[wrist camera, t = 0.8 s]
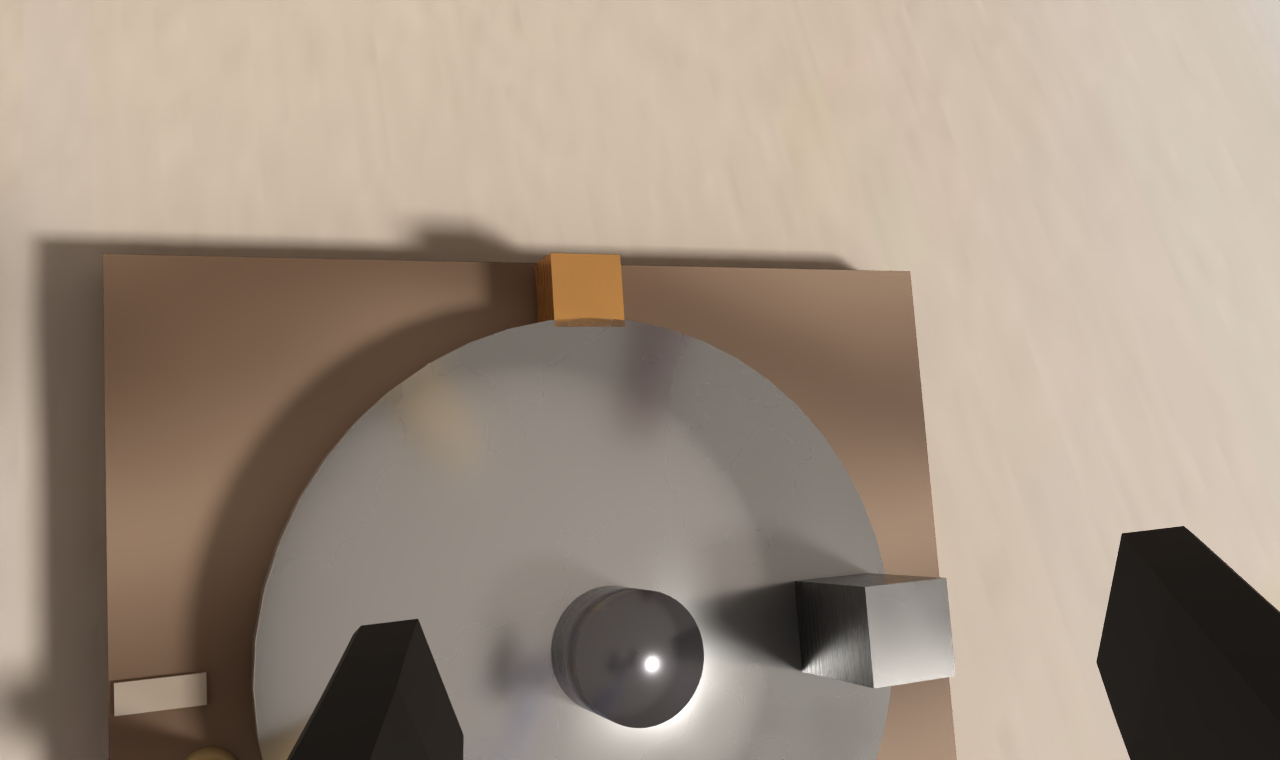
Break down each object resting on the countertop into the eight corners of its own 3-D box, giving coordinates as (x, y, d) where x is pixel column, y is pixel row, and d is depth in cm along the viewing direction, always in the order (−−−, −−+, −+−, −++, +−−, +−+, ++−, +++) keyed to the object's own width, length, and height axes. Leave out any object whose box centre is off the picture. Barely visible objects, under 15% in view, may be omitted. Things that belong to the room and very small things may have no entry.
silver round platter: (888, 911, 26) (1005, 976, 22) (261, 1067, 20) (276, 1186, 17) (832, 271, 27) (931, 231, 24) (239, 259, 22) (248, 204, 18)
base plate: (936, 931, 28) (1045, 991, 24) (120, 1144, 21) (104, 1272, 17) (877, 283, 30) (970, 249, 26) (108, 270, 23) (91, 222, 19)
